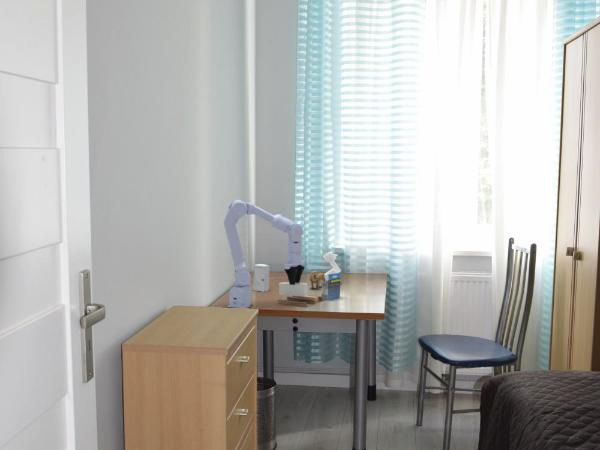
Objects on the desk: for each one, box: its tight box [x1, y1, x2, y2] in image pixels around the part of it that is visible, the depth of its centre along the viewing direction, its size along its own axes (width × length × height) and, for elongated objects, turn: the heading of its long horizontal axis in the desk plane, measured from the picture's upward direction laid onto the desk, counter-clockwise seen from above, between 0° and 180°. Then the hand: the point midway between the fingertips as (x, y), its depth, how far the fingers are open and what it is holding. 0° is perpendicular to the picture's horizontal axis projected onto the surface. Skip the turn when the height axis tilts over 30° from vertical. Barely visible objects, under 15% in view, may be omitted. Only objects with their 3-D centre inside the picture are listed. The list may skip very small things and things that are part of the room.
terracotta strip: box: [291, 294, 318, 302], centre depth 308 cm, size 3×11×2 cm, turn 61°
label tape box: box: [320, 272, 342, 301], centre depth 313 cm, size 9×4×12 cm, turn 141°
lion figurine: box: [309, 270, 326, 290], centre depth 345 cm, size 15×5×9 cm, turn 159°
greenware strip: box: [278, 281, 309, 297], centre depth 303 cm, size 4×12×5 cm, turn 62°
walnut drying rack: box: [276, 294, 326, 308], centre depth 305 cm, size 17×14×3 cm
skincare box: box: [253, 263, 270, 293], centre depth 335 cm, size 6×4×12 cm
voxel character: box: [322, 251, 342, 283], centre depth 356 cm, size 7×12×15 cm
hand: (294, 283), depth 303 cm, fingers closed on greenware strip, 3 cm apart
